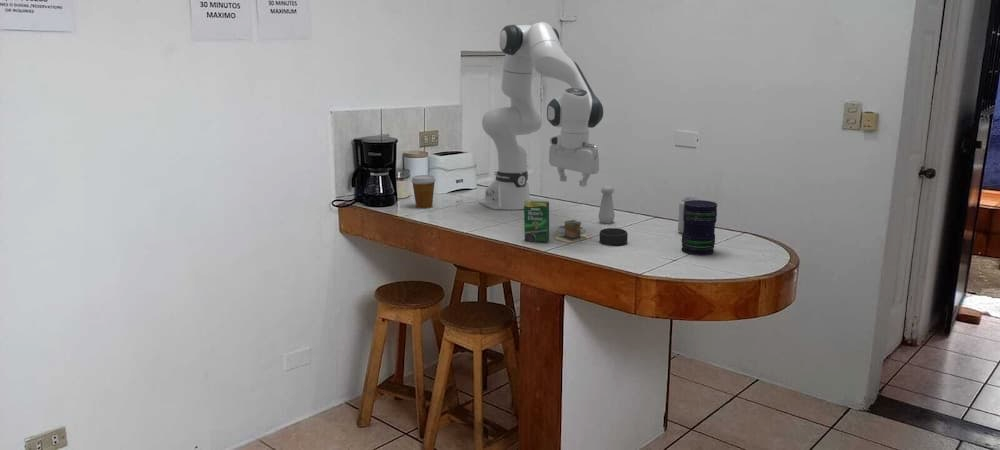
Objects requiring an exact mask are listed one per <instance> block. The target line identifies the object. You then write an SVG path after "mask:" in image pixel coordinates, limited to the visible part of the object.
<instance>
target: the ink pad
mask: <svg viewBox="0 0 1000 450" xmlns="http://www.w3.org/2000/svg"><path fill="white" fill-rule="evenodd" d="M556 232H559V233H560V232H561V233H563V234H565V224H564V225H560V226H556ZM584 233H586V228H585V227H582V226H581V227H580V234H584Z"/></svg>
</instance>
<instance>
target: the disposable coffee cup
mask: <svg viewBox="0 0 1000 450" xmlns="http://www.w3.org/2000/svg"><path fill="white" fill-rule="evenodd" d="M411 183H412V188H413V195H414V201H415V206H416V207H415V208H417V209H431V208H433V201H434V192H435V190H434V189H435V183H436V177H435V176H433V175H430V174H429V175H428V174H425V175H424V174H422V175H421V174H420V175H413V176H412V178H411Z"/></svg>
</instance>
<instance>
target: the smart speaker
mask: <svg viewBox="0 0 1000 450" xmlns="http://www.w3.org/2000/svg"><path fill="white" fill-rule="evenodd" d="M628 234H629V233H628V232H627V231H626V230H625V229H622V228H615V227H612V228H611V227H610V228H609V227H607V228H603V229H601V230H600V231H599V235H598V237H599V239H598V240H599V242H600V243H601V244H603V245H606V246H623V245H625V244H627V242H628Z"/></svg>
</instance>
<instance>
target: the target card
mask: <svg viewBox="0 0 1000 450" xmlns="http://www.w3.org/2000/svg"><path fill="white" fill-rule="evenodd" d="M580 236H581V238H578V239H574V240H571V239H568V238H564V235H560V236H558V237H557V236H556V237H553V239H554V240H557V241H561V242H563V241H564V242H563V243H566V242H567V244H572V243H576V242H581V241H585V240H589V239H590V240H591V239H592V237H591V236H587V235H584V234H582V233H580Z"/></svg>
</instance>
